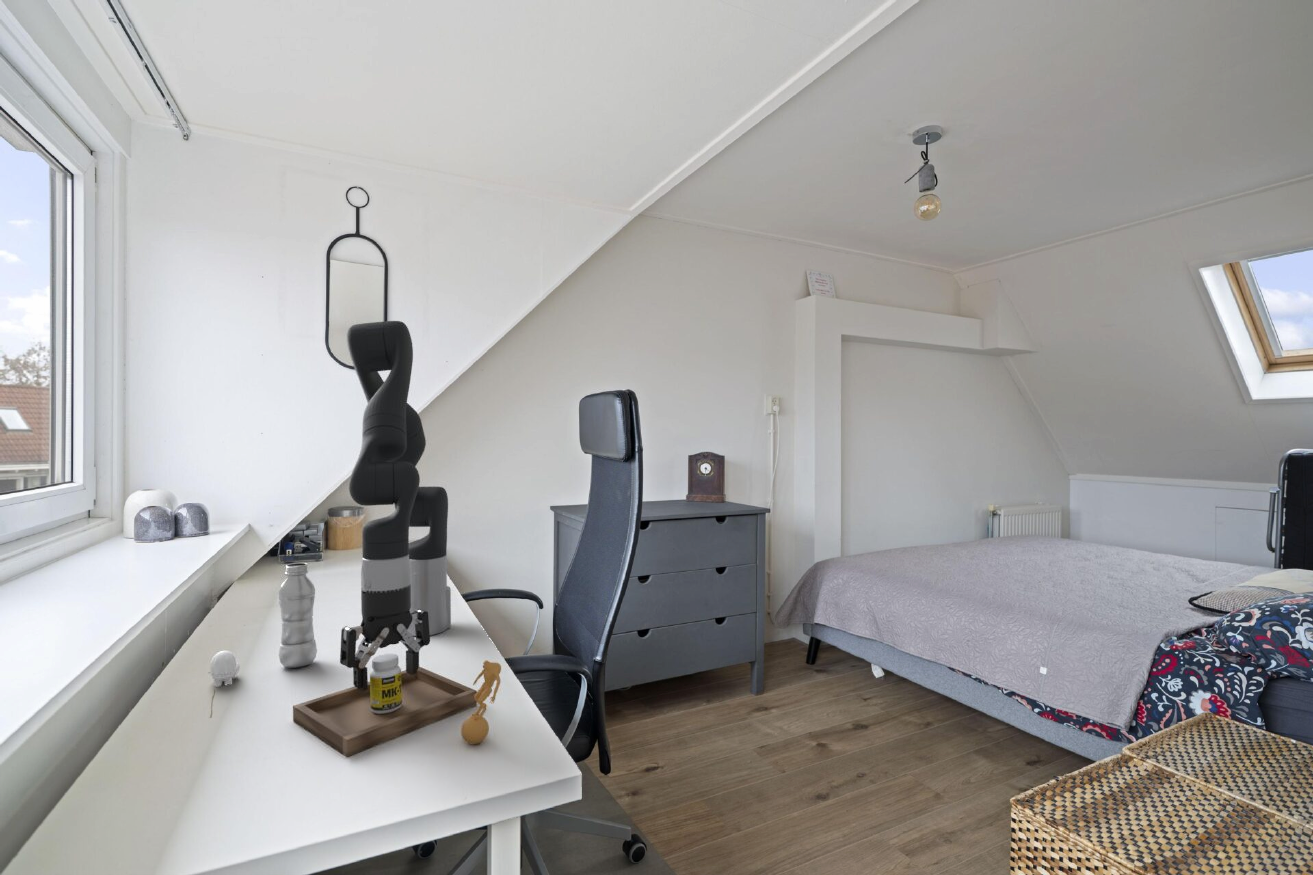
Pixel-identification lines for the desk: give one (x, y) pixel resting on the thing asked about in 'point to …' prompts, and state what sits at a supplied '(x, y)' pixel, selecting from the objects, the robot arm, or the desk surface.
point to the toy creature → (223, 667)
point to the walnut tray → (358, 728)
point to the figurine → (481, 705)
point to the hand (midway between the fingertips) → (387, 681)
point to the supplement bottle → (385, 684)
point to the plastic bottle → (297, 617)
